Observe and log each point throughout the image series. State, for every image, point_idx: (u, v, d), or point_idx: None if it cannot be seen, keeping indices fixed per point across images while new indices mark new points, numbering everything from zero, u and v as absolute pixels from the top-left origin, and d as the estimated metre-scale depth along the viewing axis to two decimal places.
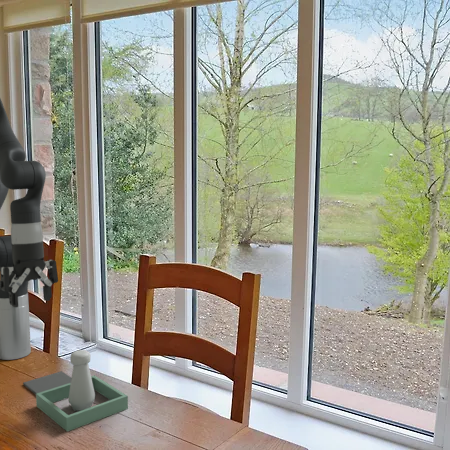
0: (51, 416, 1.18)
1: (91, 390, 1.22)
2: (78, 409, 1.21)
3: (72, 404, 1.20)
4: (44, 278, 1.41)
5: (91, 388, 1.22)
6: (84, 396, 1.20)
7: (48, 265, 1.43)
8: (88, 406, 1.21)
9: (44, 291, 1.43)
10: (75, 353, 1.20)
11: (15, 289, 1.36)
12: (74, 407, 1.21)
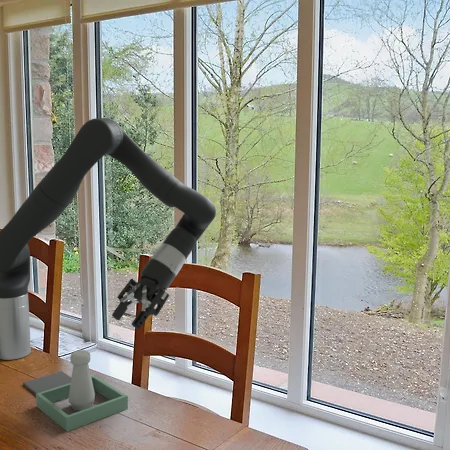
0: (51, 416, 1.18)
1: (91, 390, 1.22)
2: (78, 409, 1.21)
3: (72, 404, 1.20)
4: None
5: (91, 388, 1.22)
6: (84, 396, 1.20)
7: None
8: (88, 406, 1.21)
9: (120, 309, 1.31)
10: (75, 353, 1.20)
11: None
12: (74, 407, 1.21)
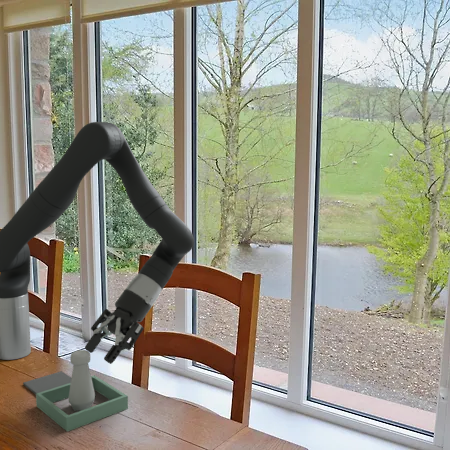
0: (51, 416, 1.18)
1: (91, 390, 1.22)
2: (78, 409, 1.21)
3: (72, 404, 1.20)
4: None
5: (91, 388, 1.22)
6: (84, 396, 1.20)
7: None
8: (88, 406, 1.21)
9: (93, 341, 1.28)
10: (75, 353, 1.20)
11: None
12: (74, 407, 1.21)
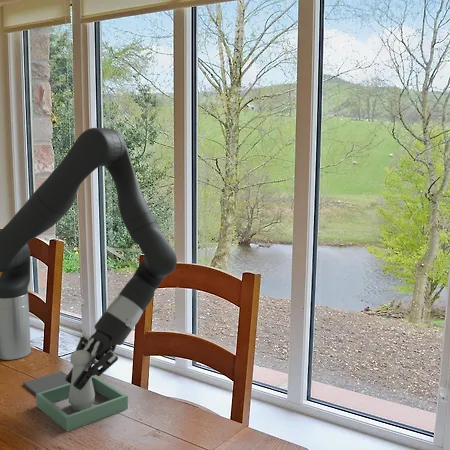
0: (51, 416, 1.18)
1: (91, 390, 1.22)
2: (78, 409, 1.21)
3: (72, 404, 1.20)
4: None
5: (91, 388, 1.22)
6: (84, 396, 1.20)
7: None
8: (88, 406, 1.21)
9: None
10: (75, 353, 1.20)
11: None
12: (74, 407, 1.21)
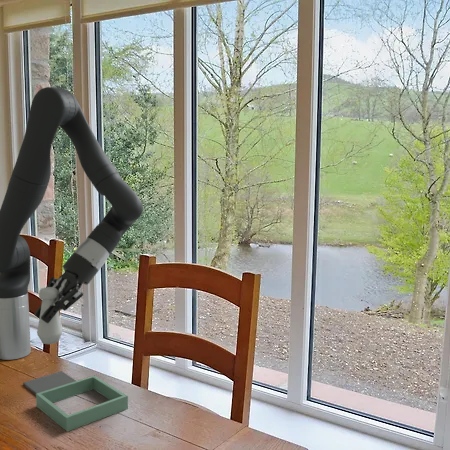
0: (51, 416, 1.18)
1: (58, 324, 1.30)
2: (46, 341, 1.29)
3: (40, 336, 1.29)
4: None
5: (59, 322, 1.30)
6: (51, 329, 1.29)
7: None
8: (55, 339, 1.30)
9: None
10: (43, 289, 1.29)
11: None
12: (42, 339, 1.29)
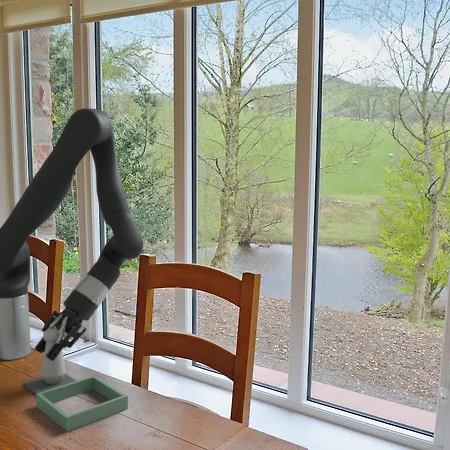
0: (51, 416, 1.18)
1: (62, 365, 1.34)
2: (50, 382, 1.33)
3: (44, 377, 1.32)
4: None
5: (62, 363, 1.34)
6: (55, 369, 1.32)
7: None
8: (59, 379, 1.33)
9: (43, 342, 1.34)
10: (47, 330, 1.32)
11: None
12: (46, 380, 1.33)
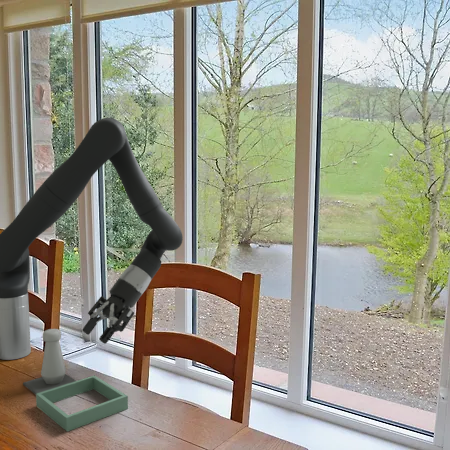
0: (51, 416, 1.18)
1: (62, 365, 1.33)
2: (50, 382, 1.33)
3: (44, 377, 1.32)
4: None
5: (62, 363, 1.34)
6: (55, 370, 1.32)
7: None
8: (59, 379, 1.33)
9: (90, 324, 1.44)
10: (47, 331, 1.32)
11: None
12: (46, 380, 1.33)
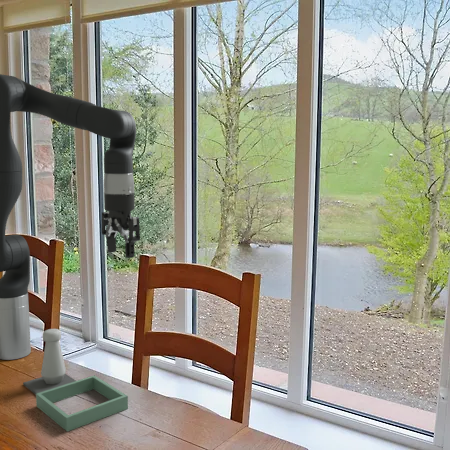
0: (51, 416, 1.18)
1: (62, 365, 1.33)
2: (50, 382, 1.33)
3: (44, 377, 1.32)
4: None
5: (62, 363, 1.34)
6: (55, 370, 1.32)
7: None
8: (59, 379, 1.33)
9: (111, 243, 1.43)
10: (47, 331, 1.32)
11: None
12: (46, 380, 1.33)
